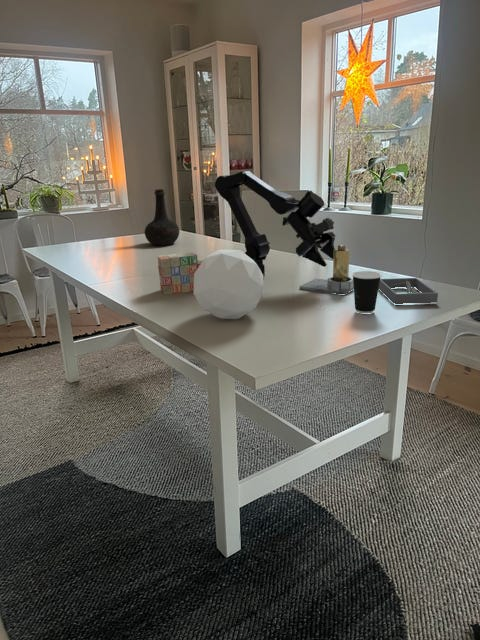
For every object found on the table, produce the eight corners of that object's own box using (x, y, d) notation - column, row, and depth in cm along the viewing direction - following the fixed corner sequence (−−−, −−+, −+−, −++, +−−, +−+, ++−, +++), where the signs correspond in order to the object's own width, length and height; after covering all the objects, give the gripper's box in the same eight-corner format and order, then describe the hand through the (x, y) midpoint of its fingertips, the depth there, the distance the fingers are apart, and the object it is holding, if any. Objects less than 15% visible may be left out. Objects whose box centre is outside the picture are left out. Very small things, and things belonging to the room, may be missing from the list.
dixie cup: (344, 312, 136) (346, 274, 133) (360, 306, 141) (362, 269, 138) (369, 318, 131) (371, 279, 127) (384, 311, 136) (387, 273, 132)
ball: (215, 343, 136) (167, 292, 129) (238, 300, 150) (196, 252, 143) (265, 321, 124) (215, 263, 117) (285, 277, 138) (242, 223, 131)
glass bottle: (141, 247, 247) (135, 191, 237) (152, 241, 263) (147, 188, 254) (174, 247, 244) (170, 190, 235) (184, 241, 260) (180, 187, 251)
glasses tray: (394, 305, 140) (395, 294, 139) (378, 289, 158) (378, 279, 156) (436, 304, 140) (438, 293, 139) (415, 288, 157) (416, 277, 156)
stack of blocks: (219, 283, 173) (218, 249, 169) (224, 287, 167) (223, 252, 163) (160, 290, 166) (157, 255, 162) (163, 295, 161) (160, 258, 157)
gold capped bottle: (338, 289, 156) (339, 247, 151) (329, 285, 160) (330, 245, 156) (351, 287, 158) (352, 246, 153) (341, 283, 162) (343, 243, 158)
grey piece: (299, 289, 161) (299, 278, 160) (315, 281, 170) (315, 271, 169) (344, 295, 152) (344, 284, 151) (359, 286, 162) (359, 276, 160)
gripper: (305, 213, 148) (336, 252, 146) (331, 207, 163) (360, 242, 160) (282, 237, 155) (312, 274, 153) (309, 229, 170) (337, 263, 167)
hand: (331, 263), depth 158 cm, fingers open, 9 cm apart
